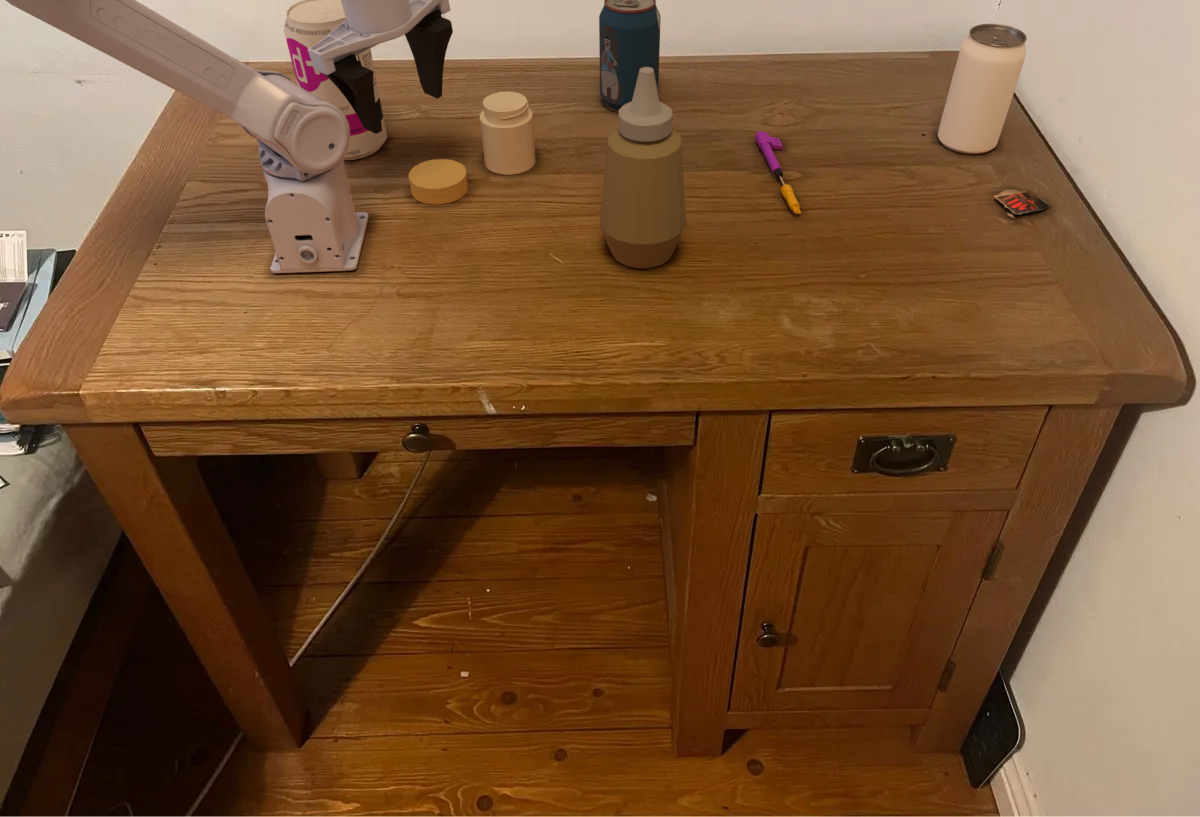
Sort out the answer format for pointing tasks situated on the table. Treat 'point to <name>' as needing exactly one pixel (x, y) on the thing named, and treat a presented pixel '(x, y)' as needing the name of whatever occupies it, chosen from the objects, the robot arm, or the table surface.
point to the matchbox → (1021, 201)
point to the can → (982, 88)
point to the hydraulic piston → (777, 167)
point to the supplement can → (302, 32)
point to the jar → (507, 133)
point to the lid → (438, 181)
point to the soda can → (627, 47)
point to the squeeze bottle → (643, 181)
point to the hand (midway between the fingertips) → (403, 111)
